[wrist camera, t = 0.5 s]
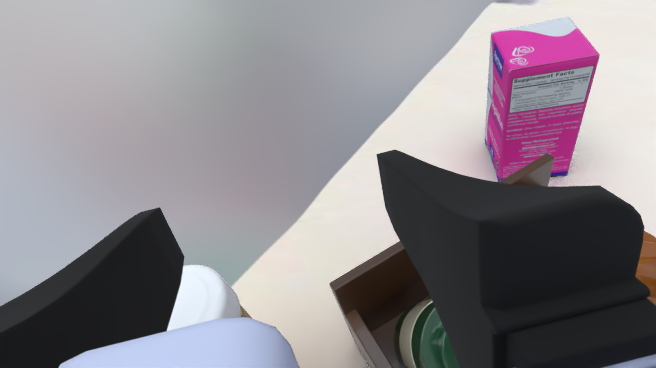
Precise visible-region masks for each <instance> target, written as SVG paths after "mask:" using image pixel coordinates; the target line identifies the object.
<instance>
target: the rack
mask: <svg viewBox="0 0 656 368" xmlns="http://www.w3.org/2000/svg"><path fill="white" fill-rule="evenodd" d="M554 159H555V157H554V156H552V155H550V154H549V153H546V154H544V155H543V156H541V157H539V158H538V159H536V160H534V161H533V162H531V163H529V164H528V165H526V166H524V167H523V168H521V169H519V170H518V171H516V172H514V173H513V174H511V175H509V176H508V177H506V178H504V179H503V180H501V181H499V183H507V184H514V185H526V186H546V187H548V183H549V179H550V175H551V171H552V167H553V163H554ZM330 287H331V289H332V291H333V294H334V296H335V298H336V300H337V303H338V305H339V307H340V309H341V312H342V314H343V316H344V318H345V321H346V323H347V325H348V327H349V330H350V332H351V334H352V336H353V339H354V341H355V343H356V345H357V346H358V348H359V350H360V351H361V353H362V355H363V356H364V358H365V360H366V361H367V363H368V365H369V366H370V368H402V367H401V365H400V363H399V361H398V359H397V356H396V353H395V349H394V331H395V328H396V325H397V322H398V320H399V318H400V316H401V315H402V314H403V312H404V311H405V310H406V309H407V308H409V307H410V306H412V305H413V304H415V303H418V302H420V301H425V300H428V299H431V296H430V294H429V292H428V289H427V287H426V285H425V284H424V282H423V280H422V278H421V276H420V274H419V272H418V271H417V269H416V267H415V266H414V264H413V262H412V260H411V259H410V257H409V255H408V253H407V252H406V250H405V248H404V246H403V245H402V243H401V241H399V242H398V243H396V244H394V245H393V246H391V247H389V248H388V249H386V250H384V251H383V252H381V253H379V254H378V255H376V256H374V257H373V258H371V259H369V260H368V261H366V262H364V263H363V264H361V265H359V266H358V267H356V268H354V269H353V270H351V271H349V272H348V273H346V274H344V275H343V276H341V277H339V278H338V279H336V280H334V281H333V282H331V283H330Z"/></svg>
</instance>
